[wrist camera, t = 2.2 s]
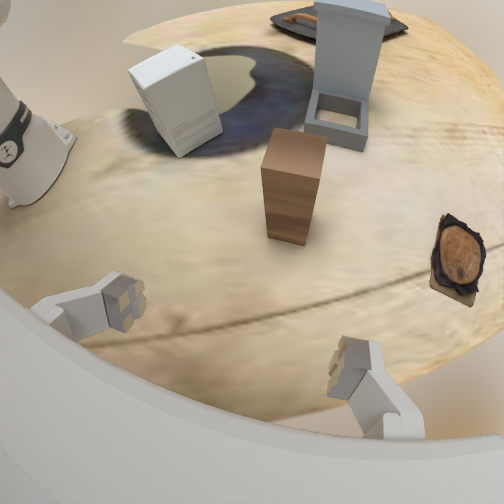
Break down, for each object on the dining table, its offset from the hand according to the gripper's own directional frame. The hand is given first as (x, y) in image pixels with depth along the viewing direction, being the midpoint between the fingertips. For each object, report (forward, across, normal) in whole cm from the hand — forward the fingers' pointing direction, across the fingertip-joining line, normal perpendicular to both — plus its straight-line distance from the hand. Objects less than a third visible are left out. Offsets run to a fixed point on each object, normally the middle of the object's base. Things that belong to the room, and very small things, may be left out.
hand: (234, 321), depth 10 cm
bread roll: (+22, -21, +3) cm, 30 cm away
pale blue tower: (+34, -3, -11) cm, 36 cm away
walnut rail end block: (+20, 0, +3) cm, 20 cm away
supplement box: (+28, +17, -5) cm, 33 cm away
